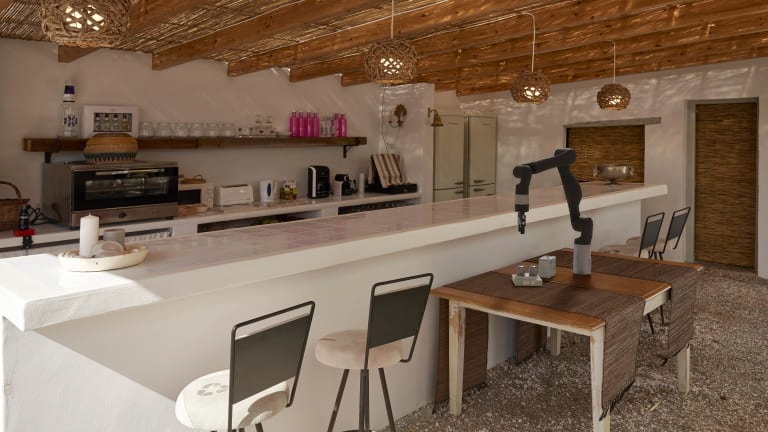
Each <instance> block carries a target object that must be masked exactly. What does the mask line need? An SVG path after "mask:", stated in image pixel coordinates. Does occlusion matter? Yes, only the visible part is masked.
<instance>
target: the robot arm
mask: <svg viewBox="0 0 768 432" xmlns="http://www.w3.org/2000/svg"><path fill="white" fill-rule="evenodd" d="M577 157H578V155H577V152H576V151H575V149H573V148H569V147H566V148H565V147H564V148H563V147H558V148H556V149H555V150H554V153H553V156H550V157H542V158H539V159H536V160H533V161H531V162H527V163H521V164H517V165H515V166H514V168H513V169H512V176H513V177H514V178H515V179H519V182H518V183H516V184H515V189H514V190H515V193H514V194H515V195H514V212H515V213H517V227H518V229H517V231H518V233H520V235H525V233H526V231H525V230H526V226H527V219H526V218H527V215H526V213H529V212H530V196H529V195H530V184H531V181H532V178H533V175H537V174H540V173H543V172H545V171H548V170H551V169H555V168H556V169H557V171H558V174H559V177H560V181H561V183H562V187H563V188H562V189H563V193H564V196H565V199H566V203H567V207H568V212H569V213H568V214H569V219H570V225H571V228H572V229H573V231H575V232H579V233H580V236H579V237H576V238H574V240H573V265H572V266H573V268H572V269H573V270H572V273H573V274H575V275H584V276H586V275H592V256H591V247H592V239H593V236H594V234H593V232H594V221H593V219H592V217H589V216H585V215H581V211H580V204H581V202H582V198H583V191H582V187H581V184H580V182H579V180H578V178H577V177H576V176H575V175H574V174H573V172H572V171H571V169H570V166H571V165H573V164H574V163H575V162H576V161H577Z"/></svg>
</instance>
